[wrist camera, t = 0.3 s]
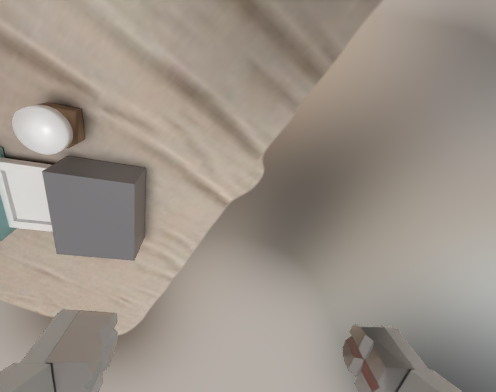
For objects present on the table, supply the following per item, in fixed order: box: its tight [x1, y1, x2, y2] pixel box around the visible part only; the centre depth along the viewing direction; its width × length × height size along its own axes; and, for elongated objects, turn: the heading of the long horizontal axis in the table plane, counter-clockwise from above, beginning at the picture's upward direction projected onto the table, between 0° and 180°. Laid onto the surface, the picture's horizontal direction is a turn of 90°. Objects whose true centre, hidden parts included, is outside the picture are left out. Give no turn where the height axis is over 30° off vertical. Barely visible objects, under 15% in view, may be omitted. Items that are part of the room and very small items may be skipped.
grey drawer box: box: [42, 156, 146, 260], centre depth 44 cm, size 16×13×7 cm
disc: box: [12, 105, 73, 155], centre depth 35 cm, size 7×7×2 cm
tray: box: [0, 147, 53, 241], centre depth 43 cm, size 16×13×5 cm
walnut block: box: [38, 103, 85, 148], centre depth 38 cm, size 5×5×5 cm
